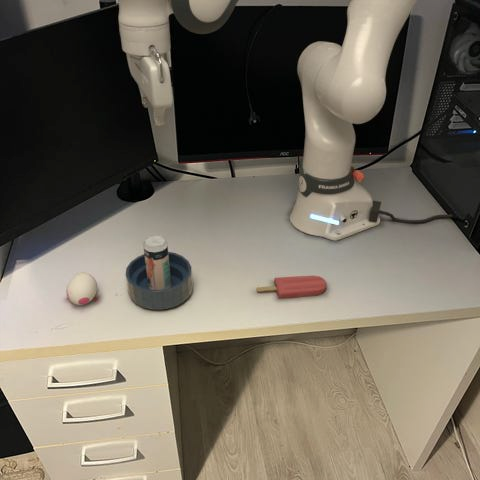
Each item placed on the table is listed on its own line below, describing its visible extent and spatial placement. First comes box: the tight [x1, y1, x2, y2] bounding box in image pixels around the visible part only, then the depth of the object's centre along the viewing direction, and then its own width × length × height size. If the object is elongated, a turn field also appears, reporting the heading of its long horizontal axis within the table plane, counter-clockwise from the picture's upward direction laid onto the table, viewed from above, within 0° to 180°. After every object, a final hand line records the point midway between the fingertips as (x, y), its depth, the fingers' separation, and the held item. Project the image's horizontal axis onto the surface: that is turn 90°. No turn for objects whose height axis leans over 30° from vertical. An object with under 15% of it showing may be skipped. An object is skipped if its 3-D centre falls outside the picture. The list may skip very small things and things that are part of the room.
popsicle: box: [256, 275, 328, 299], centre depth 109 cm, size 5×2×15 cm
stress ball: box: [65, 272, 99, 306], centre depth 105 cm, size 8×8×7 cm
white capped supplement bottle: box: [142, 234, 172, 290], centre depth 104 cm, size 5×5×12 cm
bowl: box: [125, 251, 193, 310], centre depth 107 cm, size 13×13×6 cm
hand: (153, 115), depth 103 cm, fingers open, 8 cm apart
